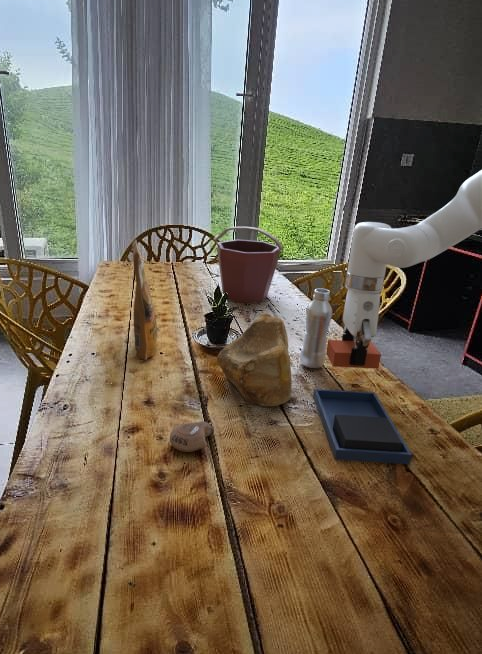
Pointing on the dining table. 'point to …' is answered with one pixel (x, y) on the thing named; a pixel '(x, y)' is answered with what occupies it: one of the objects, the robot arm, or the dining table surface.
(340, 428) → the pad
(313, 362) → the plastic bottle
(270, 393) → the rough brown rock
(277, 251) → the bucket
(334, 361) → the orange red rectangular block
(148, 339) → the pancake mix bag
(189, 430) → the oil lamp
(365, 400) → the pad frame
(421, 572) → the dining table surface
